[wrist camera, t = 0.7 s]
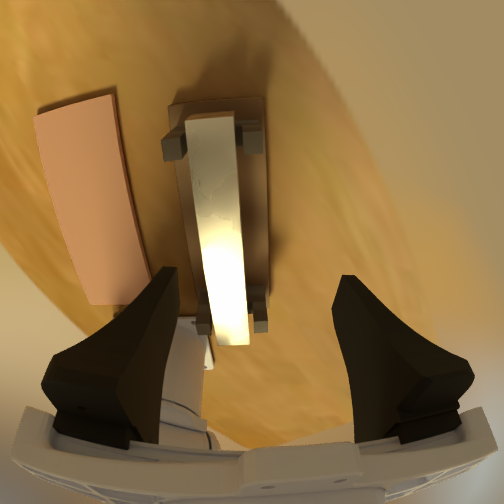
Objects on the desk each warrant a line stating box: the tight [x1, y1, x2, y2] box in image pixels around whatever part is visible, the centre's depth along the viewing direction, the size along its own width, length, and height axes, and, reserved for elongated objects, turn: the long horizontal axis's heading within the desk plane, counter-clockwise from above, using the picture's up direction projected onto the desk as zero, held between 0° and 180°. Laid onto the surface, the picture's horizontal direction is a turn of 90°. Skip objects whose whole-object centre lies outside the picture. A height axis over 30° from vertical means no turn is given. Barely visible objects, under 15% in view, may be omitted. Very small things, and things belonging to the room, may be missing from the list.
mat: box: [33, 94, 152, 305], centre depth 22 cm, size 7×18×1 cm, turn 3°
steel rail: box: [185, 111, 250, 346], centre depth 20 cm, size 16×2×2 cm, turn 3°
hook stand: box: [161, 97, 269, 335], centre depth 21 cm, size 17×6×5 cm, turn 3°
